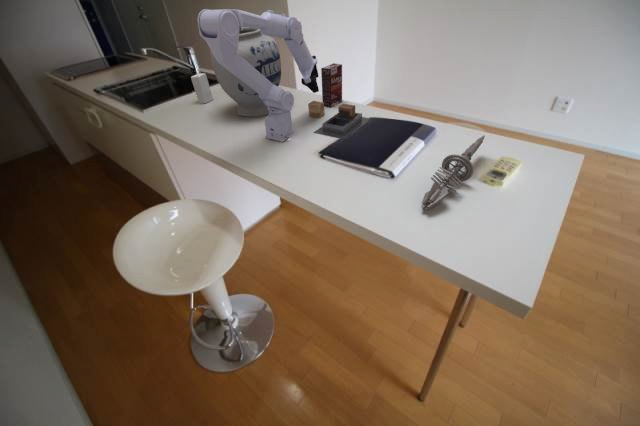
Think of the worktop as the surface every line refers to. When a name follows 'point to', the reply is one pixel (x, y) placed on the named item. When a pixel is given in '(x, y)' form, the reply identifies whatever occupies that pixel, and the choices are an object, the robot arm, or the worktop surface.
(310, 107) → the oak block
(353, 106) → the brown wooden block
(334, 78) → the supplement box
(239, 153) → the worktop surface
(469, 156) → the spaceship
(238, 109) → the white ceramic vase
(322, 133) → the board
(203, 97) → the skincare box
